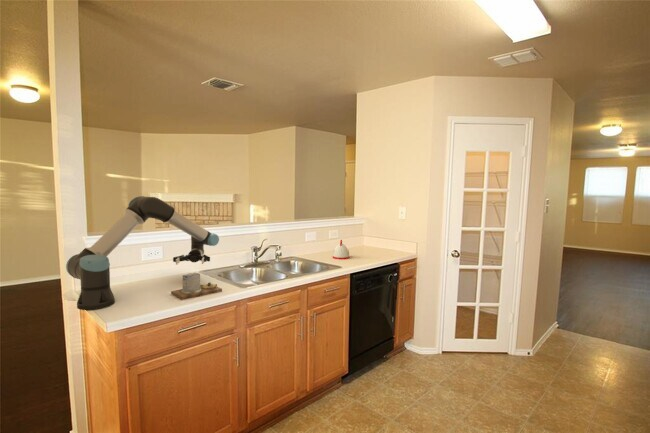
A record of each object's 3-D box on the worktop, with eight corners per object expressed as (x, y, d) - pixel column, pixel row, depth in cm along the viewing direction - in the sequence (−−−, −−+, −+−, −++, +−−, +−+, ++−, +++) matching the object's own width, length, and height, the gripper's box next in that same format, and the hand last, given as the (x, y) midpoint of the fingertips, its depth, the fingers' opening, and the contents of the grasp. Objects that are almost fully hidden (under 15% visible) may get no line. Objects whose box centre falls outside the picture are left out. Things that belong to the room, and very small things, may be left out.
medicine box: (195, 287, 190) (195, 272, 190) (200, 289, 188) (200, 273, 187) (182, 291, 184) (182, 275, 183) (187, 292, 181) (187, 276, 181)
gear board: (182, 300, 175) (181, 292, 175) (171, 293, 185) (170, 286, 185) (222, 291, 191) (222, 284, 191) (210, 286, 201) (210, 279, 201)
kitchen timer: (349, 256, 295) (350, 239, 294) (348, 259, 281) (349, 241, 280) (333, 256, 297) (333, 238, 296) (331, 259, 283) (331, 240, 282)
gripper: (216, 261, 219) (212, 268, 198) (173, 261, 213) (165, 269, 193) (216, 249, 218) (212, 254, 197) (173, 249, 213) (165, 255, 192)
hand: (189, 261), depth 195 cm, fingers open, 13 cm apart
